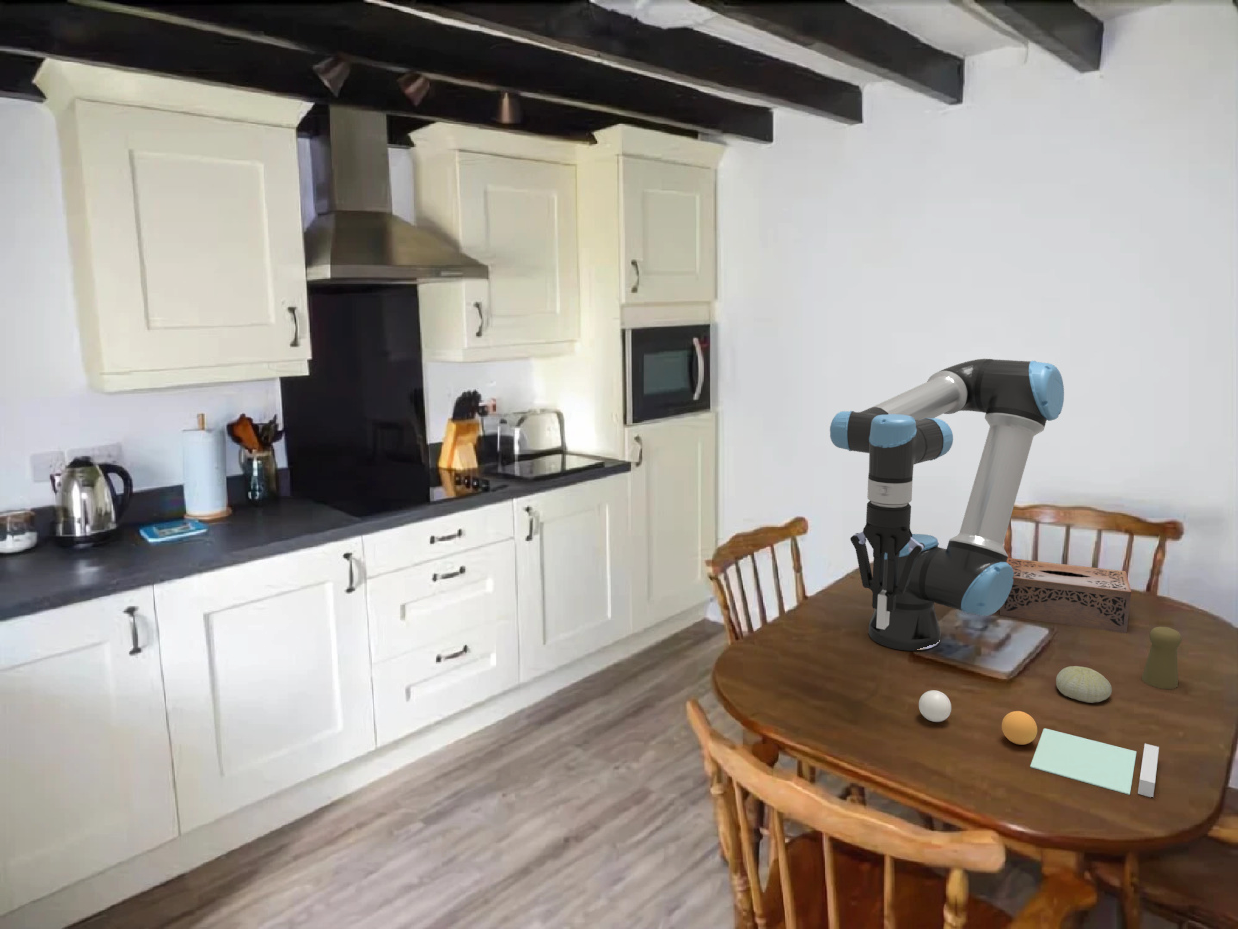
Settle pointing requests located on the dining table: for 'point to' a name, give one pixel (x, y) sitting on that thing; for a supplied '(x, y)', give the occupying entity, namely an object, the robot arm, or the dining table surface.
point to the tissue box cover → (1069, 595)
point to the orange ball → (1019, 727)
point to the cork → (1162, 658)
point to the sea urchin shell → (1083, 684)
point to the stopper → (1148, 770)
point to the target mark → (1085, 760)
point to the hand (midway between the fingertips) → (882, 626)
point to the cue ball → (935, 706)
